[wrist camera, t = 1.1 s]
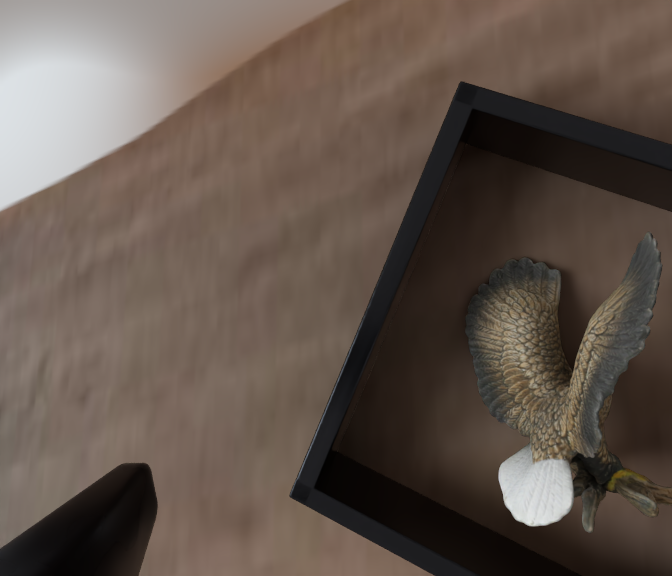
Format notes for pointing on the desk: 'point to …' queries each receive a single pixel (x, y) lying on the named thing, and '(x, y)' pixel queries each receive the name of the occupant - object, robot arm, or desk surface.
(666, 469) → the desk surface
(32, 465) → the desk surface
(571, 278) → the desk surface
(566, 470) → the eagle figurine
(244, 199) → the desk surface
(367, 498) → the desk tidy
